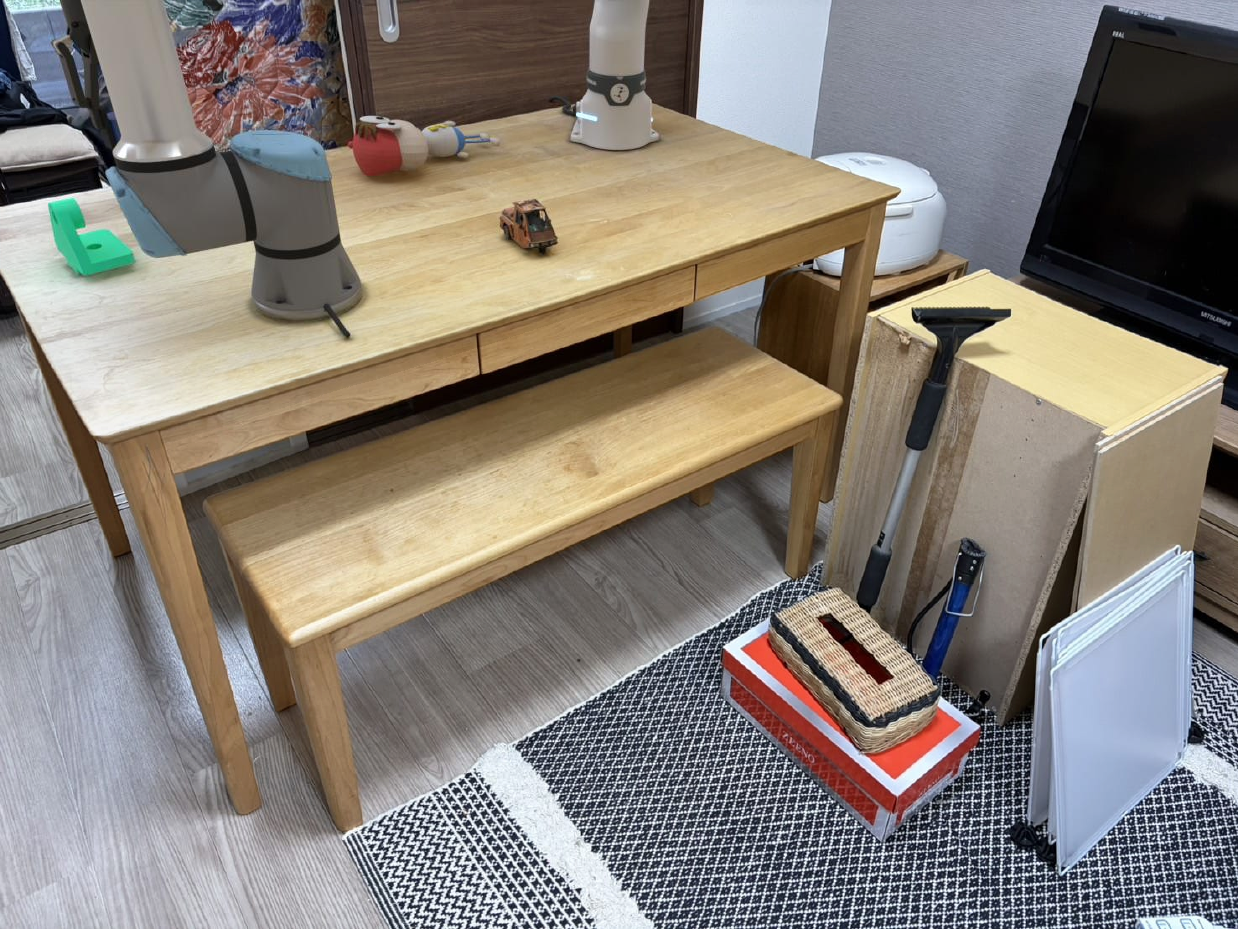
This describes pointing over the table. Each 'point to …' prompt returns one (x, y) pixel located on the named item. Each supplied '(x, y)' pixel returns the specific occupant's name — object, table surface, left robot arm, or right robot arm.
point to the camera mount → (85, 241)
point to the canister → (114, 126)
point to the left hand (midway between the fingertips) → (128, 143)
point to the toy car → (528, 225)
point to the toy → (405, 144)
